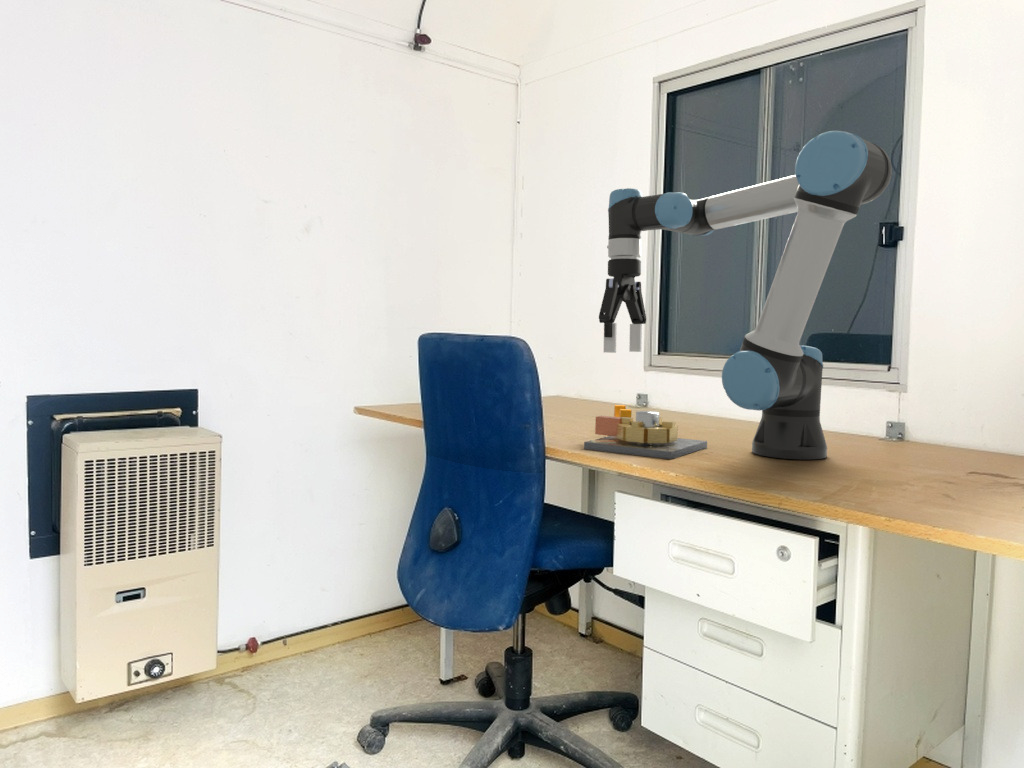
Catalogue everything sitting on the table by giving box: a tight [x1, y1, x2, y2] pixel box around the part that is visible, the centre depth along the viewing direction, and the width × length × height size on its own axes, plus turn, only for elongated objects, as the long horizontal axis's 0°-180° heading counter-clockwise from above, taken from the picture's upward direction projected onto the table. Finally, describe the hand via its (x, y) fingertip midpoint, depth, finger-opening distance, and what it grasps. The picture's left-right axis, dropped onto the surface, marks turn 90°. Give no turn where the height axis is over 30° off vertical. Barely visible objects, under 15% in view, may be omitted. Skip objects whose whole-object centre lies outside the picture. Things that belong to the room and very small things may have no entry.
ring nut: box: [594, 415, 679, 443], centre depth 177 cm, size 18×12×4 cm
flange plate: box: [583, 410, 708, 460], centre depth 176 cm, size 20×20×8 cm
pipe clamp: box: [613, 404, 632, 418], centre depth 201 cm, size 12×4×6 cm, turn 0°
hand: (622, 352), depth 185 cm, fingers open, 13 cm apart
